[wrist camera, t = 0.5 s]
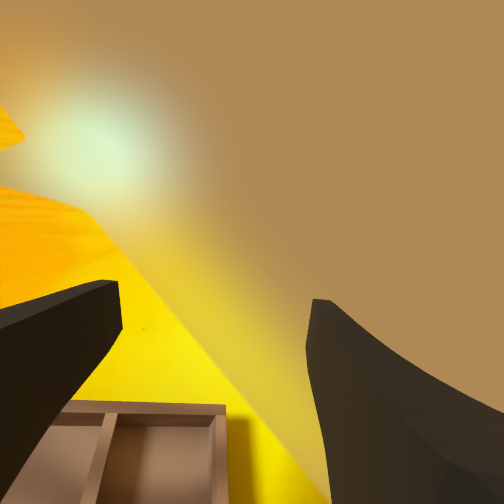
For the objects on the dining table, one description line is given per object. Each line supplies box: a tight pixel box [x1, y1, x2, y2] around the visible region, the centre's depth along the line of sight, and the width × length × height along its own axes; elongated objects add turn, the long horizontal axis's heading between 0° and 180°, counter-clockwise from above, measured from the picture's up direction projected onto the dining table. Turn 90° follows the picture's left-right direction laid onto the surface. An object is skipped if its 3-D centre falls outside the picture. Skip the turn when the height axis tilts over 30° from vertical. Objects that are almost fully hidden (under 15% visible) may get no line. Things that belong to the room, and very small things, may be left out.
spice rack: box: [0, 400, 229, 504], centre depth 17 cm, size 9×25×3 cm, turn 96°
